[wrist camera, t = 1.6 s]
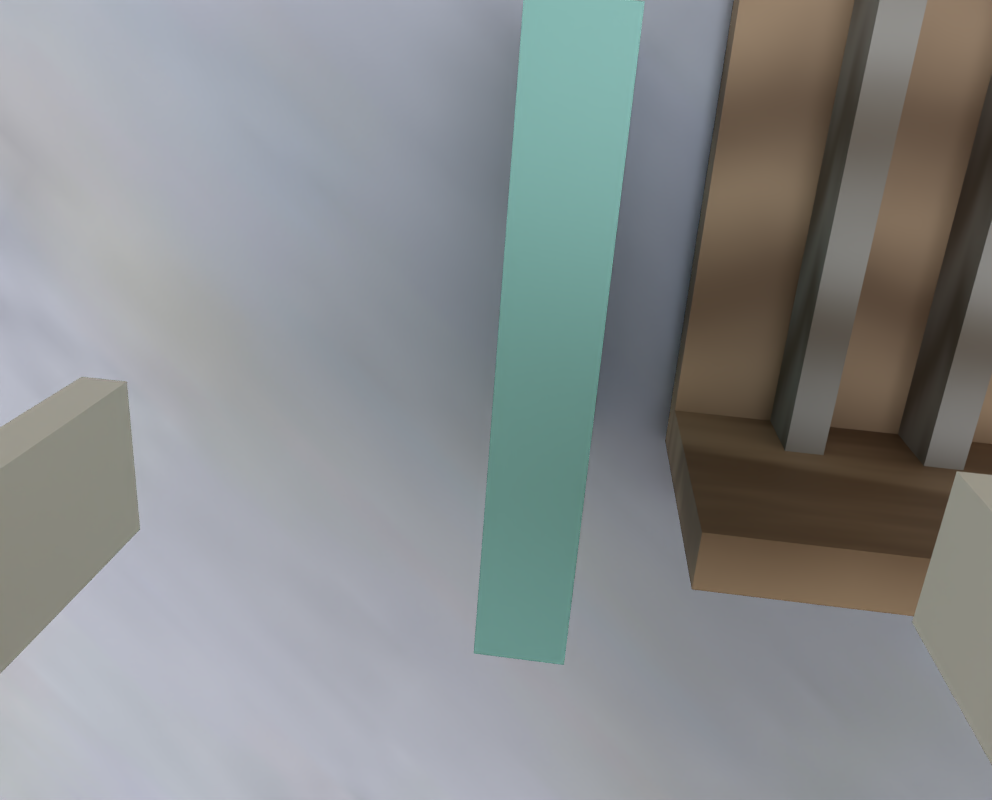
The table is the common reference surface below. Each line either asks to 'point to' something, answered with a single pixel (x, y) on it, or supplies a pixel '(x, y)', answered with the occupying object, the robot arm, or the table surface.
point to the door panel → (553, 314)
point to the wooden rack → (838, 301)
